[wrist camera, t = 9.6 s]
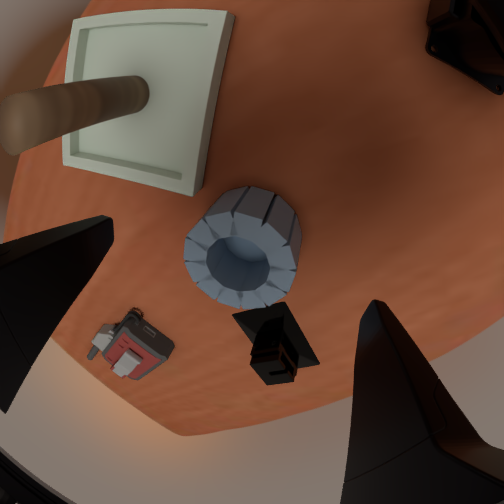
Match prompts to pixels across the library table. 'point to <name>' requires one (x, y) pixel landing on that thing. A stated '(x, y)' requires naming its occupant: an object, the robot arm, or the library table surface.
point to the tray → (151, 93)
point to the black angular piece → (276, 343)
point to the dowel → (67, 109)
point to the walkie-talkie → (132, 346)
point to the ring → (245, 248)
